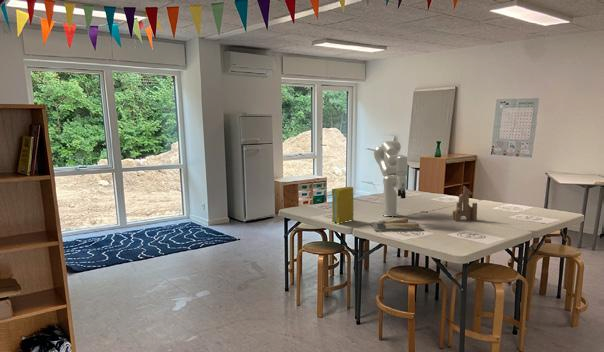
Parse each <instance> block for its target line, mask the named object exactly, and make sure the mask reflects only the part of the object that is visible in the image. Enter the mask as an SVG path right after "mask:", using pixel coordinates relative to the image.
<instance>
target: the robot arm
mask: <svg viewBox="0 0 604 352" xmlns="http://www.w3.org/2000/svg"><path fill="white" fill-rule="evenodd" d="M401 148H402V147H401V143H400V142H399V141H397V140H392V141H391V140H390V141H384V142H382V144H381V146H377V147H375V148H374V151H373V155H374V159H375V161H376V164H378V166H379V169H380V172H381V174H382V176H383V180H382V183H383V190H384V192H383V193H384V195H383V196H384V198H383V199H384V201H383V202H384V203H383V205H384V206H383V209H384V210H383V212H382V214H381V215H382V216H383V215H384V216H383V217H386V216H392V217H391V218H394V217H393V216H397V217H399V216H400V215H399V212H398V209H397V208H398V207H397V206H398V197H400V199H406V196H407V195H406V190H407V176H408V156H406V155H404V154H399V152H400V151H401ZM395 188H396V189H397V191H396V189H395Z"/></svg>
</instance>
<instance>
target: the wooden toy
mask: <svg viewBox="0 0 604 352" xmlns="http://www.w3.org/2000/svg"><path fill="white" fill-rule="evenodd" d="M470 195H473V192H472V191H471V190H470V189H469V188H467V186H465V185H463V191H462V193H460V194H459V196H458V202H456V207H455V208H456V209H455V210H452V220H453V221H455V222H461V221H462V217H465V219H466V220H467V221H472V222H477V220H478V219H477V218H478V217H477V216H478V203H477V202H473V203H472V204H471V205H472V206H471V205H470V204H469V203H470Z"/></svg>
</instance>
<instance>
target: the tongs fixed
mask: <svg viewBox="0 0 604 352" xmlns="http://www.w3.org/2000/svg"><path fill="white" fill-rule="evenodd" d="M419 226H420V223H419V222H416V223H400V224H384V225H378V224H377V229H381V230H383V229H419Z"/></svg>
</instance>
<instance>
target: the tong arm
mask: <svg viewBox="0 0 604 352" xmlns="http://www.w3.org/2000/svg"><path fill="white" fill-rule="evenodd" d="M408 222H409V218H407V217H402V218H398V219H392V220H386V221H385V220H382V221H381V220H379V221H378V222H377V224H378V225H384V224H400V223H408Z"/></svg>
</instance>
